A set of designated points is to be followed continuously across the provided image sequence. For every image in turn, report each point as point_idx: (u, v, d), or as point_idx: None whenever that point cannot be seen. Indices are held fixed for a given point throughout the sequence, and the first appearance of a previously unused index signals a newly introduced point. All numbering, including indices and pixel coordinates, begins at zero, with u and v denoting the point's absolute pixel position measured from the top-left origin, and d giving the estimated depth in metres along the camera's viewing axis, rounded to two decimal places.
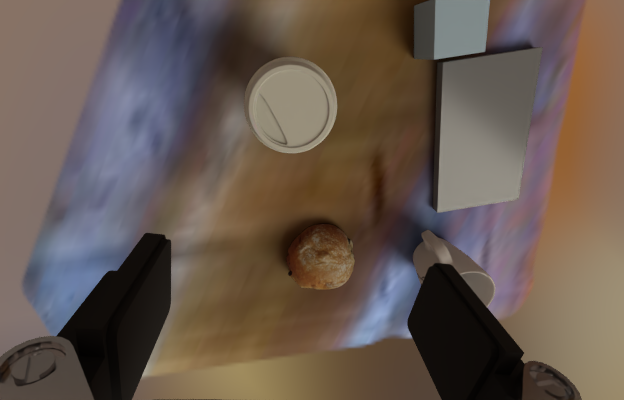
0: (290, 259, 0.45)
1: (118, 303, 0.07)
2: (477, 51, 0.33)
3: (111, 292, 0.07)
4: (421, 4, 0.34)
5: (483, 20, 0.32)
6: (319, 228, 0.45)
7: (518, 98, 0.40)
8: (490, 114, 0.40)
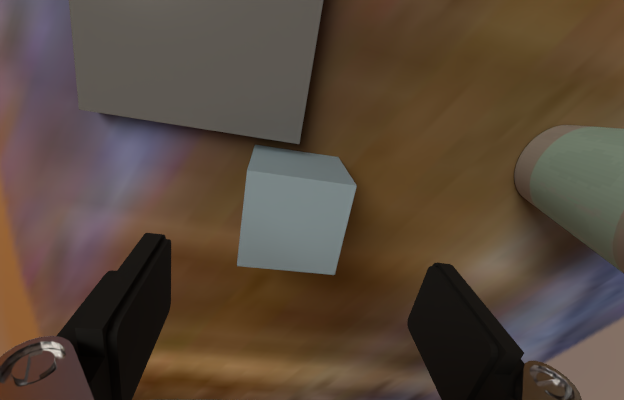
0: None
1: (118, 304, 0.07)
2: (264, 175, 0.15)
3: (111, 292, 0.07)
4: None
5: (251, 225, 0.16)
6: None
7: (116, 0, 0.15)
8: None
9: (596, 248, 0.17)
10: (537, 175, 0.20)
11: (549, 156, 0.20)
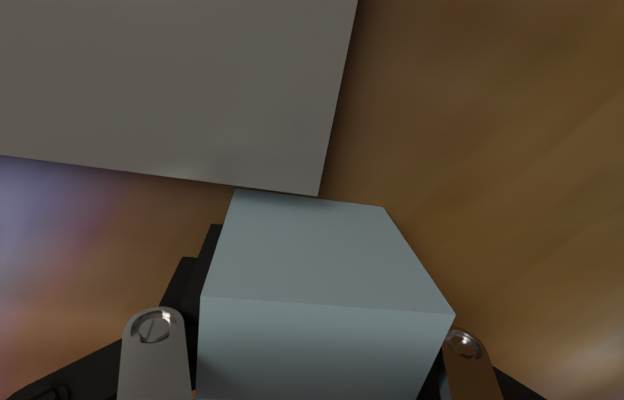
0: None
1: None
2: (244, 305, 0.06)
3: (200, 272, 0.09)
4: None
5: (217, 395, 0.07)
6: None
7: None
8: None
9: None
10: None
11: None
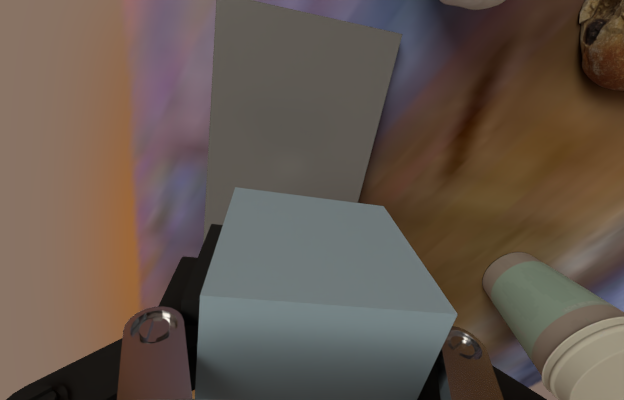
0: None
1: None
2: (243, 304, 0.06)
3: (200, 272, 0.09)
4: None
5: (217, 395, 0.07)
6: (620, 90, 0.24)
7: None
8: None
9: (526, 352, 0.27)
10: (495, 291, 0.30)
11: (502, 281, 0.30)
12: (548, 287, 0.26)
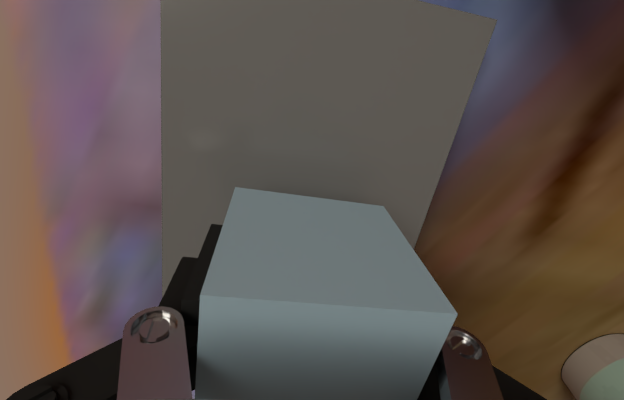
0: None
1: None
2: (243, 304, 0.06)
3: (200, 272, 0.09)
4: None
5: (217, 395, 0.07)
6: None
7: None
8: None
9: None
10: (589, 395, 0.21)
11: (602, 383, 0.21)
12: None
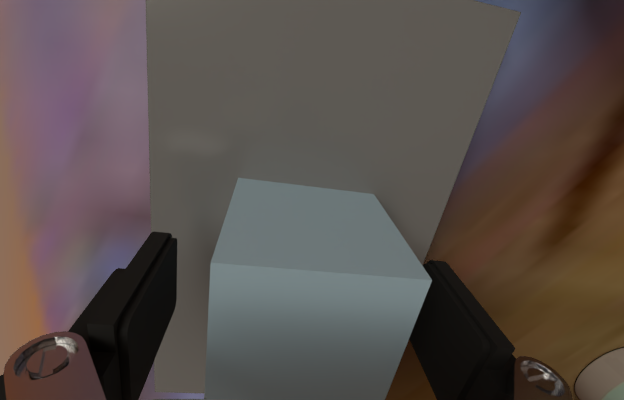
0: None
1: (128, 300, 0.07)
2: (247, 270, 0.07)
3: (121, 289, 0.07)
4: None
5: (225, 354, 0.09)
6: None
7: (200, 315, 0.15)
8: None
9: None
10: None
11: (620, 399, 0.20)
12: None
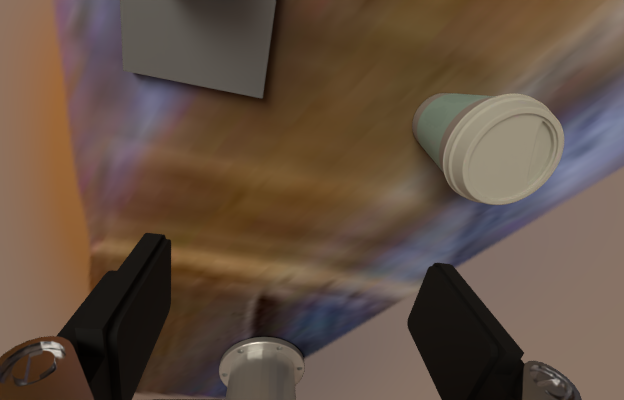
0: None
1: (118, 304, 0.07)
2: None
3: (111, 292, 0.07)
4: None
5: None
6: None
7: (148, 3, 0.25)
8: None
9: (438, 166, 0.28)
10: (419, 125, 0.31)
11: (425, 112, 0.30)
12: (460, 98, 0.27)
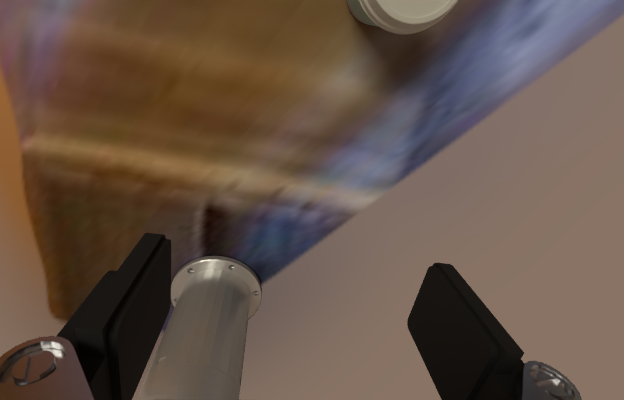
0: None
1: (118, 304, 0.07)
2: None
3: (111, 292, 0.07)
4: None
5: None
6: None
7: None
8: None
9: (361, 9, 0.27)
10: None
11: None
12: None
